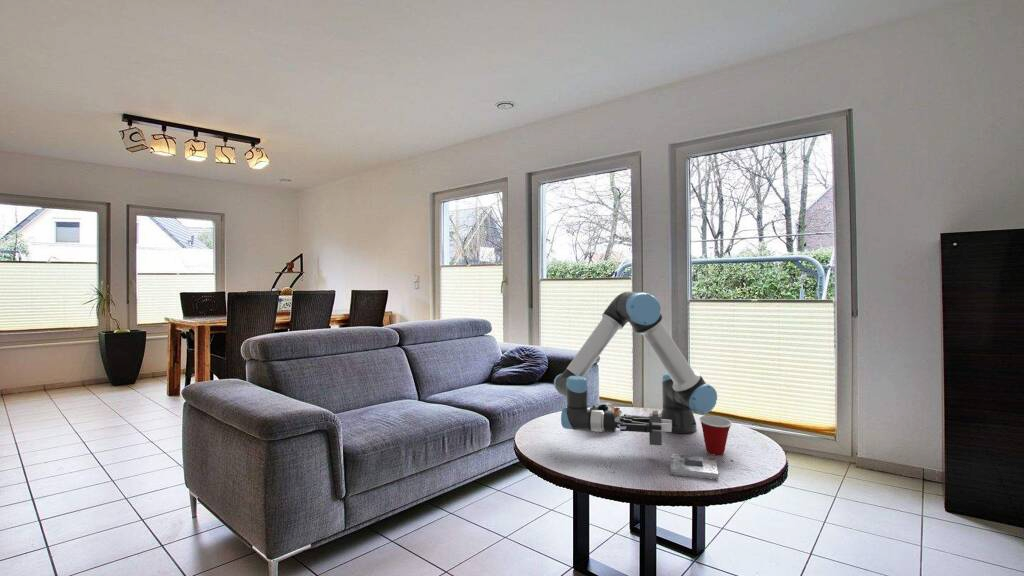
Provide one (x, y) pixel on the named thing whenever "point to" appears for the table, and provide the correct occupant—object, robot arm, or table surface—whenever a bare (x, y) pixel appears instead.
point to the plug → (655, 435)
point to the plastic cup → (715, 433)
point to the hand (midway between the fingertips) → (671, 425)
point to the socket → (693, 466)
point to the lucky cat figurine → (606, 408)
